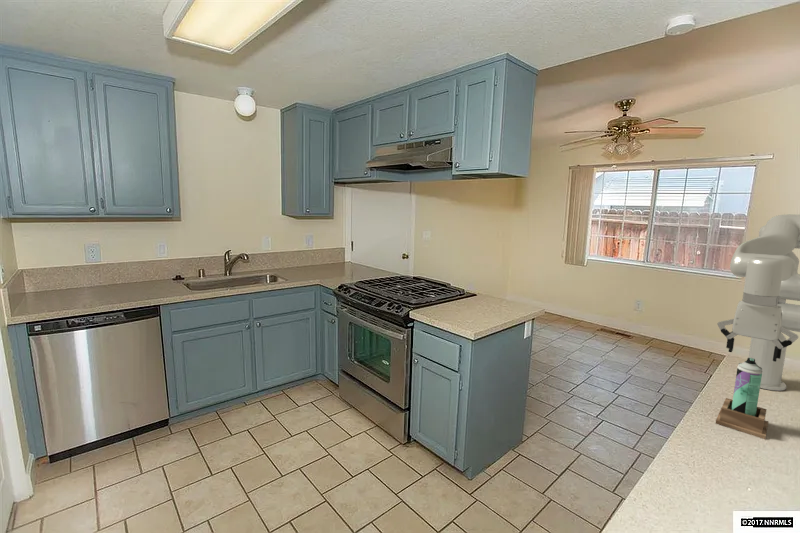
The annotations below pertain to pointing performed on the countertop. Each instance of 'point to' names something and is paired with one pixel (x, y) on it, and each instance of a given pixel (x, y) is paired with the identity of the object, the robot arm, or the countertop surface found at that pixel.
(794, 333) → the robot arm
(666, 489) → the countertop surface
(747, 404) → the spray can
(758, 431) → the can holder
